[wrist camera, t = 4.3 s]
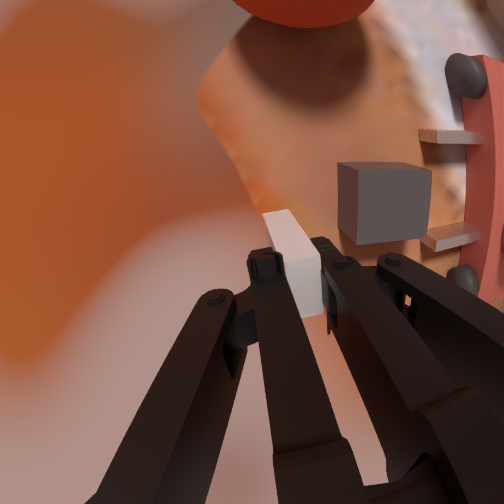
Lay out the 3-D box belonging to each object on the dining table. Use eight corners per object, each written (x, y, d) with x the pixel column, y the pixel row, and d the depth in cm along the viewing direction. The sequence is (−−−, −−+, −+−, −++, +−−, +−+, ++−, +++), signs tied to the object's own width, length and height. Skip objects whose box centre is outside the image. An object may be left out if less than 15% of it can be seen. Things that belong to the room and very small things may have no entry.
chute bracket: (418, 128, 18) (436, 130, 16) (464, 130, 18) (482, 133, 16) (420, 240, 22) (435, 252, 20) (463, 230, 22) (478, 240, 20)
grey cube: (336, 162, 19) (358, 169, 16) (403, 162, 19) (432, 170, 16) (337, 225, 21) (356, 245, 18) (400, 220, 22) (426, 237, 18)
